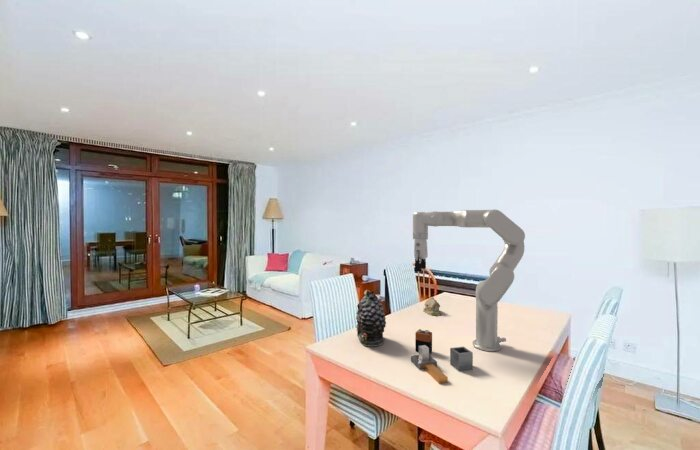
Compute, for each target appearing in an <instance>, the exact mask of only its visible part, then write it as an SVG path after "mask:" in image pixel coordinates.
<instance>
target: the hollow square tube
mask: <svg viewBox="0 0 700 450" xmlns="http://www.w3.org/2000/svg"><path fill="white" fill-rule="evenodd" d="M449 350H450V351H449V353H450V354H449V355H450V356H449V364H450V365H449V366H452V368H454V369H455V370H456V371H457V372H464V371H471V370H473V367H474V366H473V364H474V362H473V361H474V360H473V358H474V356H473V355H474V354H473V351H471V350H469V349H468V348H467V347H465V346H457V347H456V346H455V347H450V348H449Z"/></svg>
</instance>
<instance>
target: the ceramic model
mask: <svg viewBox="0 0 700 450" xmlns="http://www.w3.org/2000/svg"><path fill="white" fill-rule="evenodd" d="M424 306H425V307H424V308H423V313H424V312H425V313H424V314H426V313H427V315H429V316H433V317H434V316H441V315H442V311H441V310H440V307H441V305H440V303H439V302H438V301H437V300H436V299H435V297H434V296H433V297H432V296H431V297H429V298H428V299H427V300H425V302H424Z"/></svg>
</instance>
